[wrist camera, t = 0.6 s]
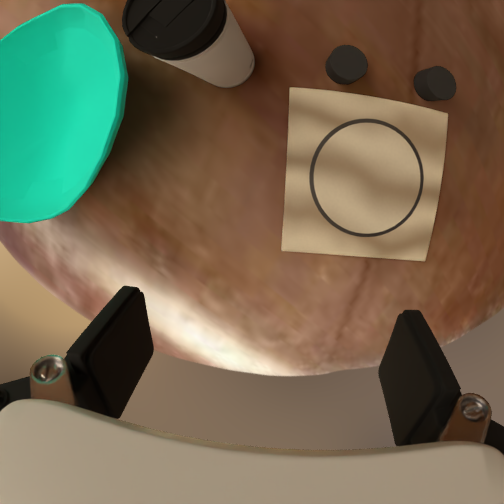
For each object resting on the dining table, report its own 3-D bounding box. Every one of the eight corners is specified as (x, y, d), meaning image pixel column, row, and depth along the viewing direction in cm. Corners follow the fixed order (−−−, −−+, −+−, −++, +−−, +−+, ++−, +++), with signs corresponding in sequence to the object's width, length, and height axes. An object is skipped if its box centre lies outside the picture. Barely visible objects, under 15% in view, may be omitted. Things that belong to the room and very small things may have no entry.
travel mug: (268, 61, 29) (245, -10, 11) (227, 98, 32) (157, 72, 14) (231, 28, 28) (172, -54, 10) (191, 66, 30) (96, 21, 12)
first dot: (325, 51, 28) (330, 42, 24) (359, 55, 28) (367, 48, 24) (324, 82, 30) (329, 77, 26) (358, 86, 29) (367, 82, 26)
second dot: (413, 67, 27) (427, 62, 23) (441, 75, 27) (456, 71, 23) (413, 97, 29) (426, 95, 25) (440, 104, 28) (456, 103, 25)
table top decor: (177, -8, 26) (131, -51, 14) (184, 196, 37) (137, 234, 25) (-12, 73, 31) (-64, 77, 18) (-1, 211, 42) (-50, 237, 30)
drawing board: (289, 87, 30) (289, 86, 30) (446, 113, 29) (448, 113, 28) (281, 249, 39) (281, 251, 38) (424, 260, 37) (425, 261, 36)
